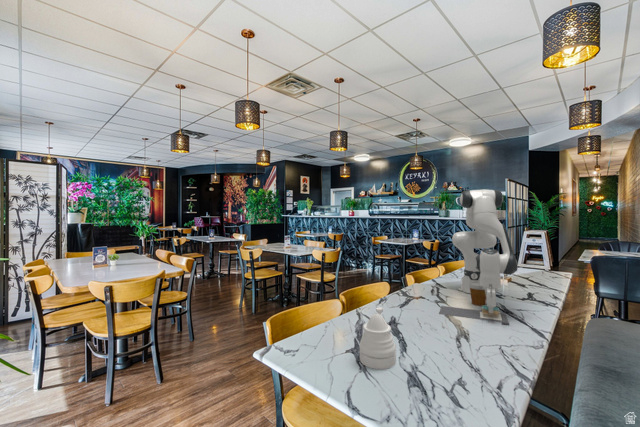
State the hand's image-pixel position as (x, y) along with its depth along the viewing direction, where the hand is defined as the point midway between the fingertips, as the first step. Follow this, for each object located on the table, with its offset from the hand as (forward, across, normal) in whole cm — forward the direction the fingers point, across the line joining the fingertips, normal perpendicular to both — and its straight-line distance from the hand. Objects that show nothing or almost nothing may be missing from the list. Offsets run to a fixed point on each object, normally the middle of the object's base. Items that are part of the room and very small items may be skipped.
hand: (490, 310), depth 146 cm
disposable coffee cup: (+4, +19, +5) cm, 20 cm away
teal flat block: (+1, 0, 0) cm, 1 cm away
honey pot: (+4, -63, +38) cm, 74 cm away
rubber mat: (+4, 0, +8) cm, 9 cm away
